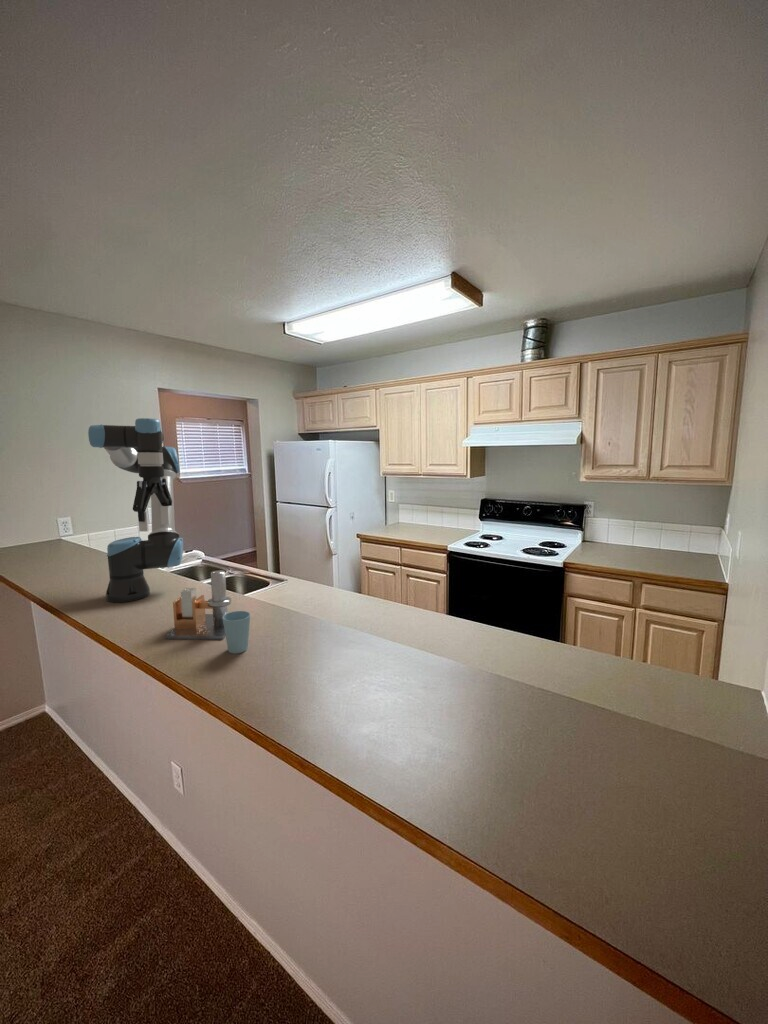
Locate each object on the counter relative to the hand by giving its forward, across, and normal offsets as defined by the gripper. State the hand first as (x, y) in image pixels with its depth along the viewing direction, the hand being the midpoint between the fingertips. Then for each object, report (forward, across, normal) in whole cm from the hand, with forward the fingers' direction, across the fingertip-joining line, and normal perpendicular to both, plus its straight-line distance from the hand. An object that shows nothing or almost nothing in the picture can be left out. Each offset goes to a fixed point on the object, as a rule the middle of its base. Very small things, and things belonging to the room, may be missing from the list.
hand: (155, 527), depth 146 cm
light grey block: (+31, +10, +15) cm, 36 cm away
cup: (+32, +25, +36) cm, 54 cm away
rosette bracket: (+32, +10, +20) cm, 39 cm away
